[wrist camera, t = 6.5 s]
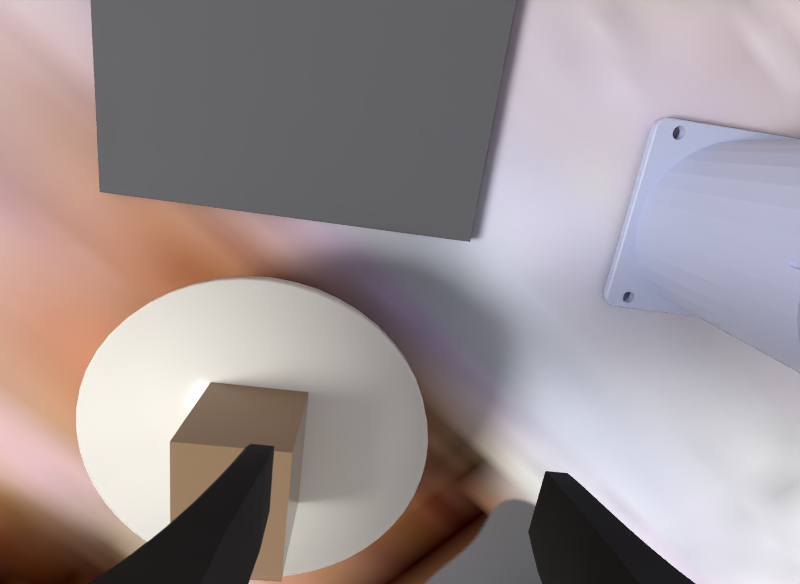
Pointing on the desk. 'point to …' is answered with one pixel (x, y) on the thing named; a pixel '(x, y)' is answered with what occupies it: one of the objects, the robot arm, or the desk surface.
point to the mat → (302, 106)
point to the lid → (256, 415)
